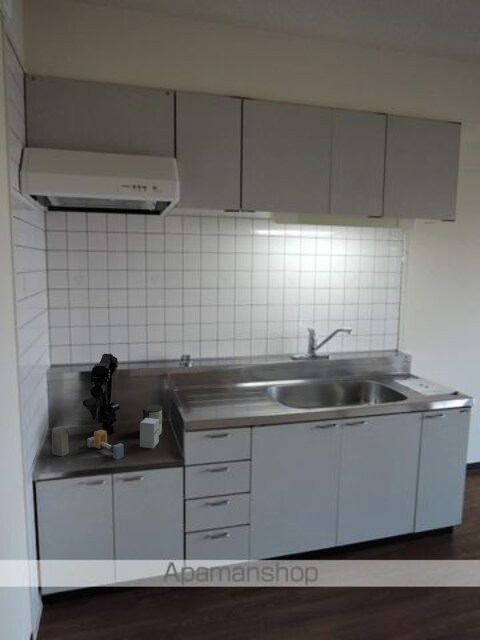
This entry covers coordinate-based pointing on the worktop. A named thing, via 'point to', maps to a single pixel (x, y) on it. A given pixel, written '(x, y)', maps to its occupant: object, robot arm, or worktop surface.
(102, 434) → the sleeve
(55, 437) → the skincare box
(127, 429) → the worktop surface
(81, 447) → the worktop surface
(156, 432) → the supplement box
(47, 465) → the worktop surface
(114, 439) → the worktop surface
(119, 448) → the grey mallet
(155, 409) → the coffee can
